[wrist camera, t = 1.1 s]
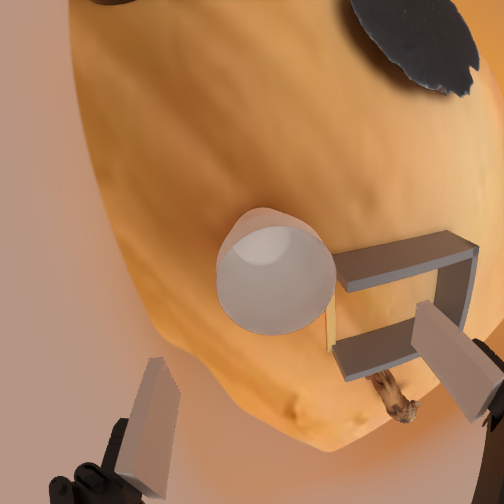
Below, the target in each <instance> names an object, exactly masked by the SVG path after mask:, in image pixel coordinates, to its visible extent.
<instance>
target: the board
mask: <svg viewBox="0 0 504 504" xmlns="http://www.w3.org/2000/svg"><path fill="white" fill-rule="evenodd" d="M350 3H351V6H352V8H353V11H354V12H355V14H356V16H357V18H358V20H359V22H360V24H361V25H362V27H363V29H364V30H365V32H366V33H367V34H368V36H369V37H370V38H371V39H372V40H373V42H374V43H375V44H376V45H377V46H378V47H379V48H380V49H381V51H382V52H383V53H384V54H385V55H386V56H387V58H388V59H389V60H390V61H391V62H392V63H395V64H396V66H398V67H399V68H400V69H401V70H402V71H403V73H404V74H405V75H406V76H407V77H408V78H409V80H412V81H414V82H415V83H417V84H419V85H420V86H422V87H424V88H427V89H430V90H437V91H438V92H440V93H442V94H444V95H446V96H448V95H449V94H450V93H451V92H452V93H455V94H457V95H458V96H459V97H460V98H461V97H464V96H465V95H466V94H468V95H470V89H471V86H472V85H473V79H472V76H471V74H470V72H469V71H470V70H469V67H470V66H471V67H472V68H474V69H475V70H476V71H479V68H480V65H479V64H480V58H479V52H478V49H477V47H476V44H475V42H474V40H473V38H472V35H471V32H470V30H469V28H468V26H467V24H466V23H465V21H464V19H463V17H462V16H461V14H460V13H459V12H458V9H457V8H456V6H455V4H454V3H452V2H451V1H450V0H350Z"/></svg>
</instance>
